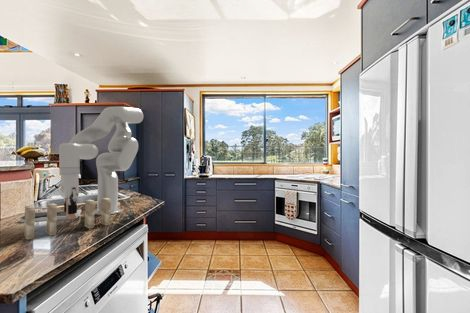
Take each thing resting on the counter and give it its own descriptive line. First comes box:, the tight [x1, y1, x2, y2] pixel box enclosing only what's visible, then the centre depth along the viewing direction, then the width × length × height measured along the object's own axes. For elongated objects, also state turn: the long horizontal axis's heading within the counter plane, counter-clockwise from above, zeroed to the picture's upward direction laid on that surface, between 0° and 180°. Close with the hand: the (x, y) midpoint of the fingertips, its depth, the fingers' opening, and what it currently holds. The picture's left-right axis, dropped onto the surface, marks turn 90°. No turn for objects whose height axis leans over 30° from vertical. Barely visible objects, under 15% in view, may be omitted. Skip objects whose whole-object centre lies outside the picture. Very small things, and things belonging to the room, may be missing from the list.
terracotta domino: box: [66, 196, 75, 220], centre depth 109 cm, size 2×5×11 cm, turn 49°
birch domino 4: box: [100, 198, 112, 226], centre depth 108 cm, size 2×5×11 cm, turn 48°
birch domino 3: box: [84, 199, 96, 229], centre depth 103 cm, size 2×5×11 cm, turn 48°
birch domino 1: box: [24, 205, 36, 240], centre depth 89 cm, size 2×5×11 cm, turn 48°
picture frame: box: [19, 209, 82, 223], centre depth 120 cm, size 16×3×21 cm
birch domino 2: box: [46, 202, 58, 236], centre depth 94 cm, size 2×5×11 cm, turn 49°
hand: (70, 212), depth 109 cm, fingers closed on terracotta domino, 4 cm apart
